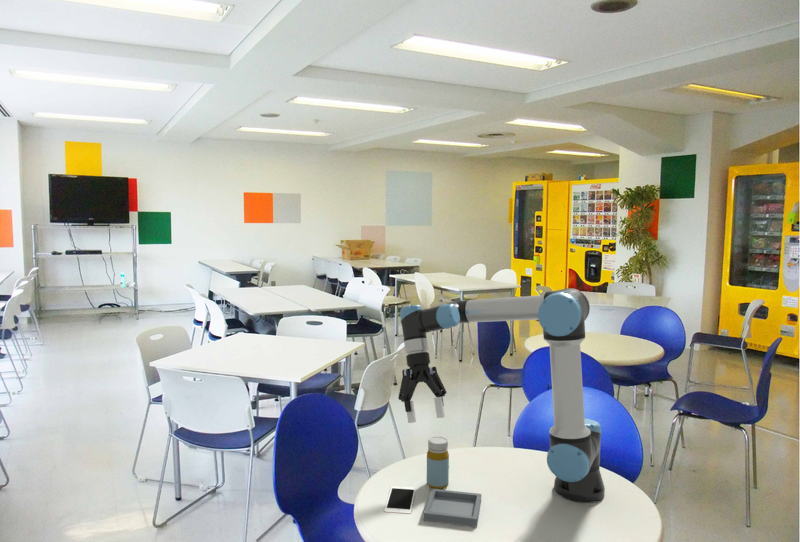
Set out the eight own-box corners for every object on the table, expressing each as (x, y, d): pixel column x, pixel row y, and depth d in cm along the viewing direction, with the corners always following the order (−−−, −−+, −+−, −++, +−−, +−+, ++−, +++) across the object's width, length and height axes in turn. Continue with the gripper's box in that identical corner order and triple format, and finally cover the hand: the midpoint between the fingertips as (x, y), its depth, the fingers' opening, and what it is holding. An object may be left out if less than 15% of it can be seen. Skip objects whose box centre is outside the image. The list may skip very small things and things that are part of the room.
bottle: (449, 490, 183) (449, 444, 181) (426, 490, 183) (427, 444, 182) (447, 480, 190) (448, 436, 188) (426, 480, 190) (426, 435, 188)
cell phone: (383, 513, 169) (383, 511, 169) (391, 487, 185) (391, 485, 185) (410, 515, 169) (410, 513, 169) (415, 489, 184) (415, 487, 184)
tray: (481, 501, 176) (481, 493, 176) (476, 527, 161) (477, 519, 161) (432, 496, 179) (432, 488, 179) (423, 520, 165) (423, 512, 164)
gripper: (434, 353, 200) (443, 416, 195) (381, 356, 182) (390, 425, 178) (450, 350, 195) (460, 414, 190) (398, 352, 177) (408, 423, 173)
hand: (426, 420), depth 184 cm, fingers open, 13 cm apart
